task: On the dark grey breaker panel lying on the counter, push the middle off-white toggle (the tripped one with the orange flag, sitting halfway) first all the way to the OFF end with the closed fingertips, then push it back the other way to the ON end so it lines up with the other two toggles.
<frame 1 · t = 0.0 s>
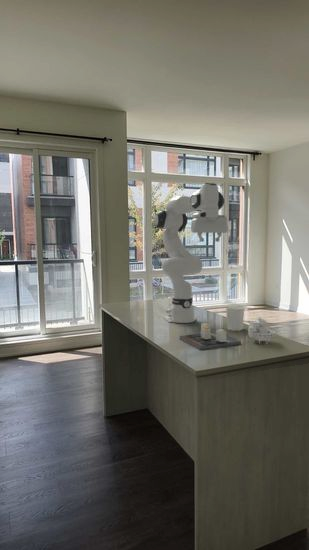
hand: (209, 241, 183), 48 cm above the table, tool pointing down, fingers open, 8 cm apart
mechanical part: (261, 342, 168), on the table
breaker mid: (205, 332, 169), point 5 cm above the table, slide at 4.0 cm
breaker right: (221, 335, 164), point 4 cm above the table, slide at 8.0 cm
panel: (209, 341, 170), on the table
breaker left: (205, 328, 177), point 4 cm above the table, slide at 8.0 cm
candle holder: (234, 329, 195), on the table
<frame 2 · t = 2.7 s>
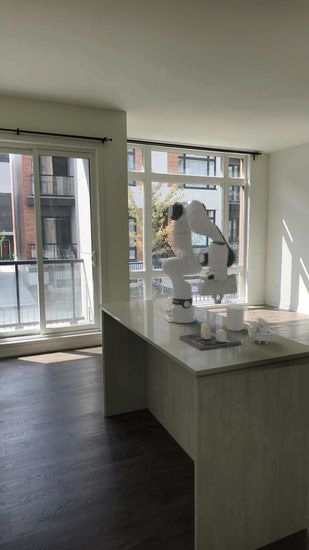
hand: (217, 303, 170), 18 cm above the table, tool pointing down, fingers closed
nothing on the table moved.
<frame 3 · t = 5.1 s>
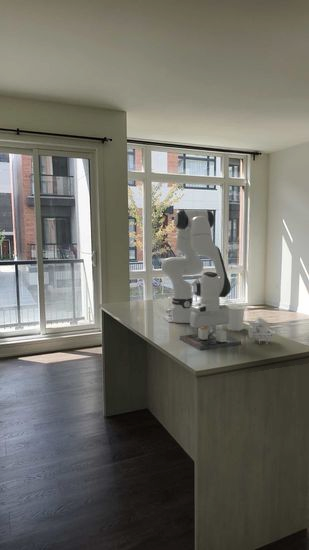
hand: (209, 334, 170), 3 cm above the table, tool pointing down, fingers closed
breaker mid: (203, 333, 168), point 5 cm above the table, slide at 2.4 cm, touching gripper
everything else where it was.
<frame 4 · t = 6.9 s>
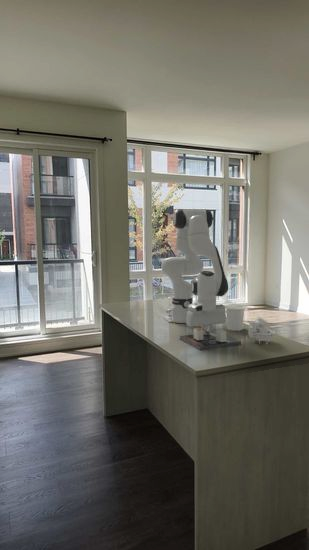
hand: (206, 333, 170), 4 cm above the table, tool pointing down, fingers closed
breaker mid: (198, 333, 167), point 5 cm above the table, slide at -0.1 cm
everything else where it was.
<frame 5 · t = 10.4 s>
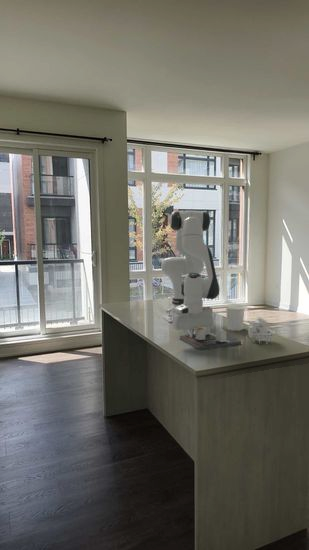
hand: (193, 336, 167), 3 cm above the table, tool pointing down, fingers closed
breaker mid: (200, 333, 168), point 5 cm above the table, slide at 1.0 cm, touching gripper
everything else where it was.
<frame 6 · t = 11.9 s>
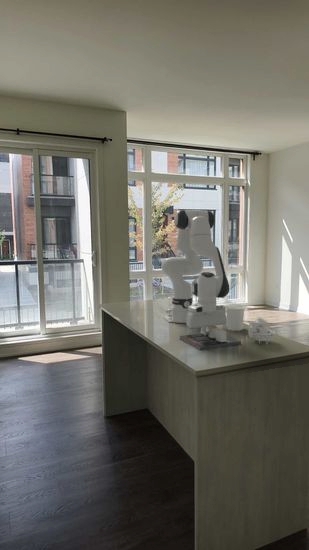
hand: (206, 335, 169), 3 cm above the table, tool pointing down, fingers closed
breaker mid: (213, 331, 171), point 5 cm above the table, slide at 8.1 cm, touching gripper
everything else where it was.
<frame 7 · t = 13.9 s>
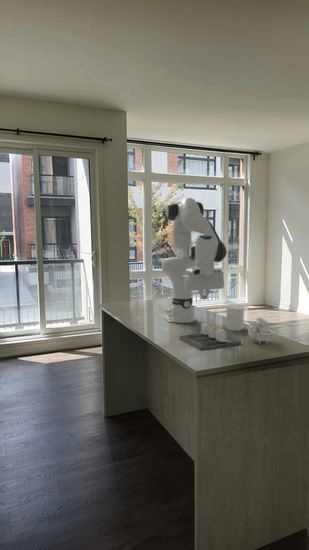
hand: (204, 299, 167), 21 cm above the table, tool pointing down, fingers closed
breaker mid: (213, 331, 170), point 5 cm above the table, slide at 8.1 cm
everything else where it was.
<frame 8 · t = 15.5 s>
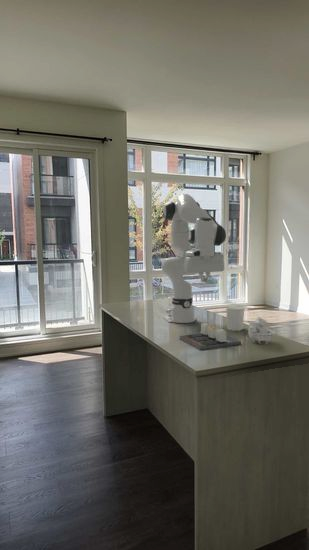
hand: (204, 281, 166), 29 cm above the table, tool pointing down, fingers closed
nothing on the table moved.
at the end: breaker mid slide at 8.1 cm; breaker left slide at 8.0 cm; breaker right slide at 8.0 cm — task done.
